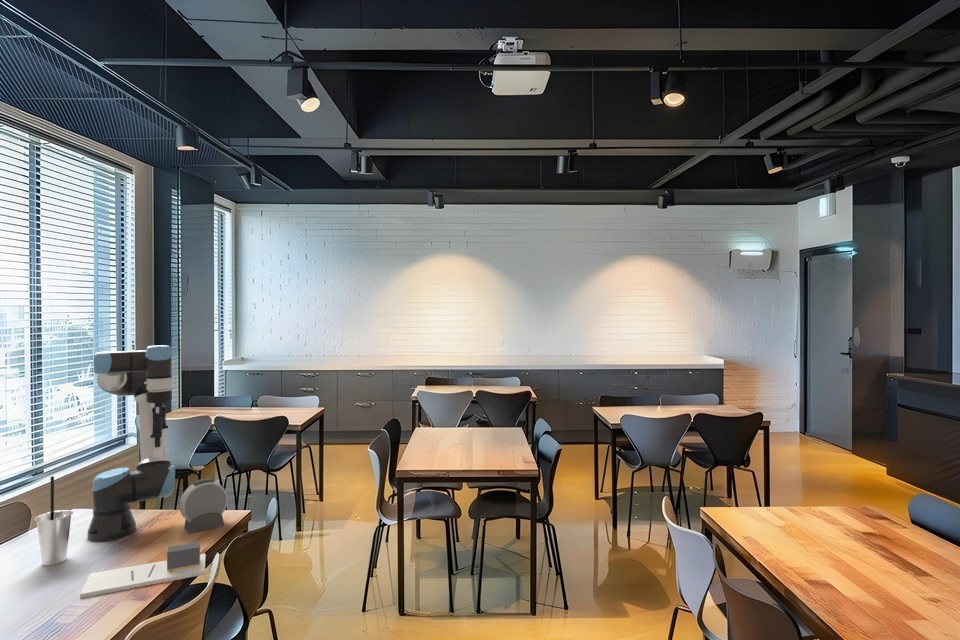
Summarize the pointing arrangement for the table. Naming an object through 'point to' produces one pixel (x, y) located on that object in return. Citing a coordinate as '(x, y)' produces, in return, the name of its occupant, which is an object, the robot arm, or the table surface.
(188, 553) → the block
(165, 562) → the board
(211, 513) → the alarm clock
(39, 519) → the metal cup with straw
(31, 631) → the table surface
